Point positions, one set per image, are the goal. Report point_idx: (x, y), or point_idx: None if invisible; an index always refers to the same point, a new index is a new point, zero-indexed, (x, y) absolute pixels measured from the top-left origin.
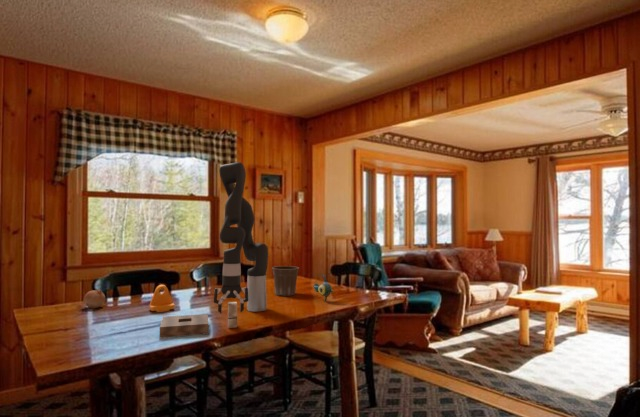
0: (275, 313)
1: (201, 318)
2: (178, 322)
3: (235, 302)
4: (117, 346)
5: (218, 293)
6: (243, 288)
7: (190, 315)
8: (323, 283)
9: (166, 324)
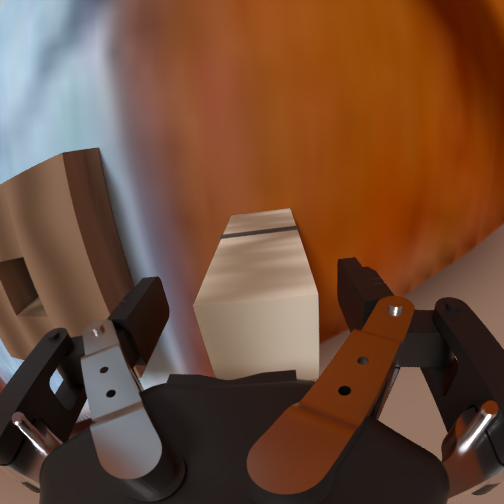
0: (490, 23)
1: (64, 272)
2: (19, 321)
3: (301, 336)
4: (6, 364)
5: (60, 441)
6: (460, 491)
7: (2, 195)
8: None
9: (6, 334)
